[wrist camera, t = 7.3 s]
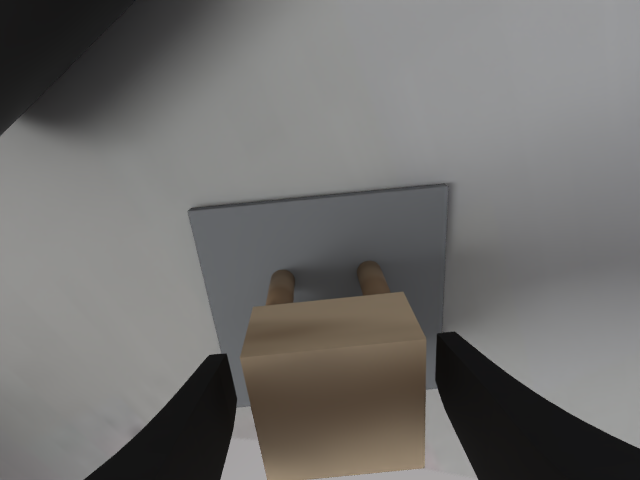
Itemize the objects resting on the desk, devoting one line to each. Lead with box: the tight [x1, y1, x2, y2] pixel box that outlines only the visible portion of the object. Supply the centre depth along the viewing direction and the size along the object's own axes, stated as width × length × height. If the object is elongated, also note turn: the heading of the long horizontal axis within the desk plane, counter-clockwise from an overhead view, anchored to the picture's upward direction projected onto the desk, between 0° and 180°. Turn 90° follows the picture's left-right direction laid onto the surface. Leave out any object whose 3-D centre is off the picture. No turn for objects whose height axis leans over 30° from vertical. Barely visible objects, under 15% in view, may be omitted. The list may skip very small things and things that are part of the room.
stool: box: [240, 261, 426, 480], centre depth 13 cm, size 5×5×6 cm
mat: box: [188, 184, 448, 407], centre depth 16 cm, size 10×10×1 cm
